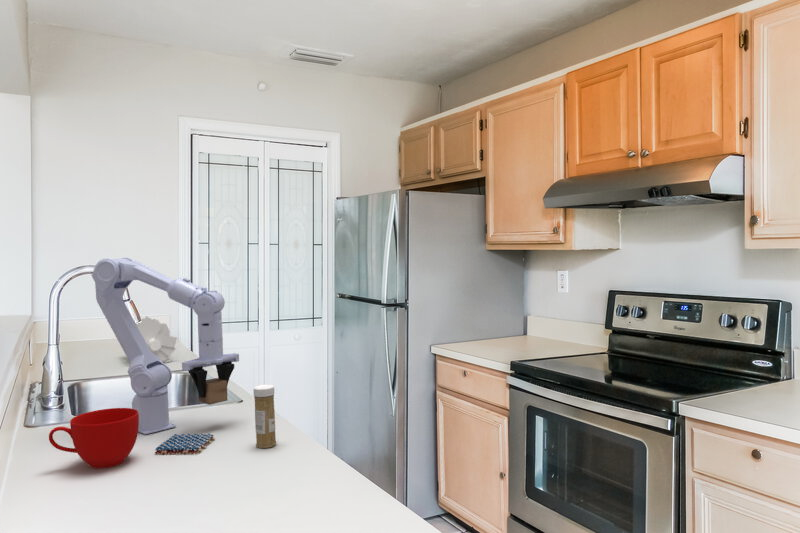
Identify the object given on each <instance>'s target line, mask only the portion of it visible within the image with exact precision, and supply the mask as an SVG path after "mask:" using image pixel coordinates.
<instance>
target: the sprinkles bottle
mask: <svg viewBox="0 0 800 533" xmlns="http://www.w3.org/2000/svg"><path fill="white" fill-rule="evenodd" d="M274 396H275V385H272V384H261V385H256V386H254V387H253V397H254V422H255V423H254V424H255V426H254V427H255V438H256V443H255V446H256V448H259V449H269V448H273V447H275V446H276V445H277V441H276V439H277V438H276V417H275V416H276V415H275V397H274Z"/></svg>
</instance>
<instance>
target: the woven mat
mask: <svg viewBox="0 0 800 533" xmlns="http://www.w3.org/2000/svg"><path fill="white" fill-rule="evenodd" d="M215 440H216V438H215V437H214V434H211V433H207V434H204V433H201V434H197V433H194V434H191V433H188V434H183V433H181V434H177V433H175V434H173V435H172V436H170V437H169V438H166V440H164V441H163V442H161V444H159V445H158V446H156V447H155V449H154V451H155V452H154V455H155V456H156V455H159V456H164V455H166V456H167V455H185V456H186V455H200V454H201V453H202V452H203V451H205V449H207V448H206V447H207V446H209V445H211V443H214V441H215Z"/></svg>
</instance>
